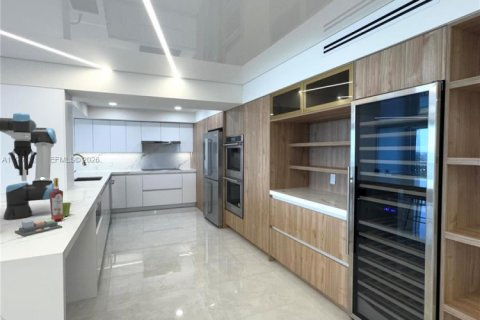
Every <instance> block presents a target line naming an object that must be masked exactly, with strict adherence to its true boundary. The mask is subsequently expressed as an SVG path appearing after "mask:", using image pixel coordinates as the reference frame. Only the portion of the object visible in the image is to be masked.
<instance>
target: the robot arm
mask: <svg viewBox="0 0 480 320" xmlns="http://www.w3.org/2000/svg"><path fill="white" fill-rule="evenodd" d="M36 123H37V122H35V121H34V120H32V119H31V115H30V114H29V113H23V112H15V113H13V114H12V117H0V132H1V133H3V134H6V135H8V136H10V137H11V139H13V140H14V141H13V149H12V150H11V151H10V152H8V153H7V154H8V155H9V157H10V159H11V162H12V164H13V167H14V169H15V170H18V172H19V173H18V174H19V176H21V182H19V183H12V184H9V185H7V186H6V187H5V196H6V197H5V198H6V199H5V200H6V208H5V211H4V213H3V220H6V221H7V220H8V221H9V220H10V221H11V220H19V219H20V220H21V219H26V218H29V217H32V216H33V210H32V208H31V206H30V202H34V201H47V200H50V195H49V192H51V191H53V188H54V181H53V179H51V165H52V164H51V163H52V148H53V147H54V146H55V145H54V144H57V134H56V131H55V129H54V128H52V127H37V124H36ZM32 144H33V145H34V147H36V151H34V150H33V149H32ZM29 155H30V157H29ZM16 156H17V158H16ZM17 159H18V160H17ZM34 161H35V173H34V174H35V175H34V176H35V177H34V179H33V180H32V182H31V183H29V182H27V181H28V179H27V177H28V176H29V169H32V168H33V165H34Z"/></svg>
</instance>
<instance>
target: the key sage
mask: <svg viewBox="0 0 480 320" xmlns="http://www.w3.org/2000/svg"><path fill="white" fill-rule="evenodd" d="M43 222H45V224H50V223H55V220H53V219H51V218H50V219H45V220H43Z"/></svg>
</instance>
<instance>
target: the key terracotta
mask: <svg viewBox="0 0 480 320" xmlns="http://www.w3.org/2000/svg"><path fill="white" fill-rule="evenodd" d="M41 225H45V222H44V221H36V222H34V226H35V227H37V226H41Z"/></svg>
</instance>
